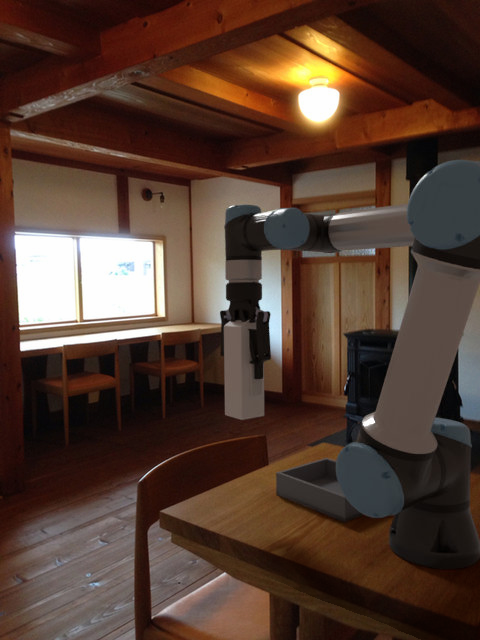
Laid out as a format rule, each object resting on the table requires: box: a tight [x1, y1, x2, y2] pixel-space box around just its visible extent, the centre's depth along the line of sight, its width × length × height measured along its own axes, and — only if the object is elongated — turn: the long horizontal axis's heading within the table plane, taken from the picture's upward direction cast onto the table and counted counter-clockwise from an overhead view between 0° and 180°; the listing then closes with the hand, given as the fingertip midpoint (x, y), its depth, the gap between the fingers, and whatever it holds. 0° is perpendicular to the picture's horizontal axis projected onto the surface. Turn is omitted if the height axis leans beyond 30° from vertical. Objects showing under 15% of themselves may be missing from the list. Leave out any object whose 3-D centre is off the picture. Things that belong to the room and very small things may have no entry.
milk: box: [223, 319, 265, 421], centre depth 115 cm, size 6×6×22 cm
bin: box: [275, 457, 365, 523], centre depth 121 cm, size 20×17×5 cm
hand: (245, 392), depth 115 cm, fingers closed on milk, 6 cm apart
